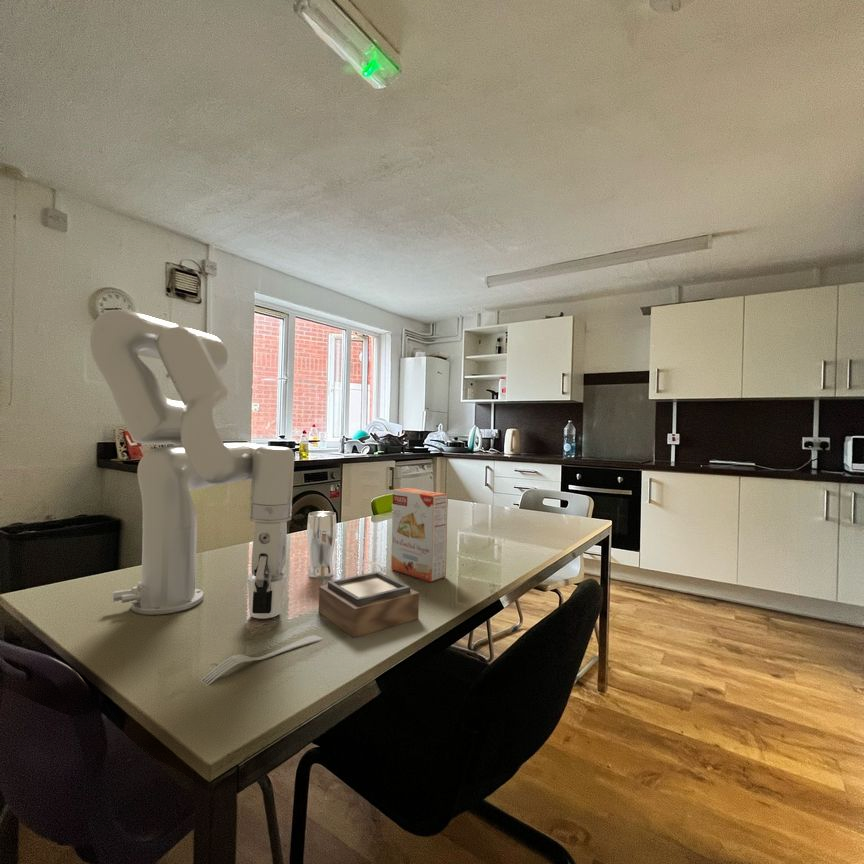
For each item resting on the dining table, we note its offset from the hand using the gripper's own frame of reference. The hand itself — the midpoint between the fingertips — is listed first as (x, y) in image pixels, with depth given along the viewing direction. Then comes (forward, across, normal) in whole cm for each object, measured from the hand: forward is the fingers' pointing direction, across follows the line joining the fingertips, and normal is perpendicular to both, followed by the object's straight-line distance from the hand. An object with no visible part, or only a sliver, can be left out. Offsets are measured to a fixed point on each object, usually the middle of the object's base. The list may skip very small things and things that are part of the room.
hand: (265, 604), depth 89 cm
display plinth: (+2, -1, -19) cm, 20 cm away
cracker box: (+2, +23, -32) cm, 40 cm away
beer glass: (+3, +25, -8) cm, 26 cm away
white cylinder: (+2, 0, 0) cm, 2 cm away
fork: (+3, -16, -4) cm, 17 cm away
